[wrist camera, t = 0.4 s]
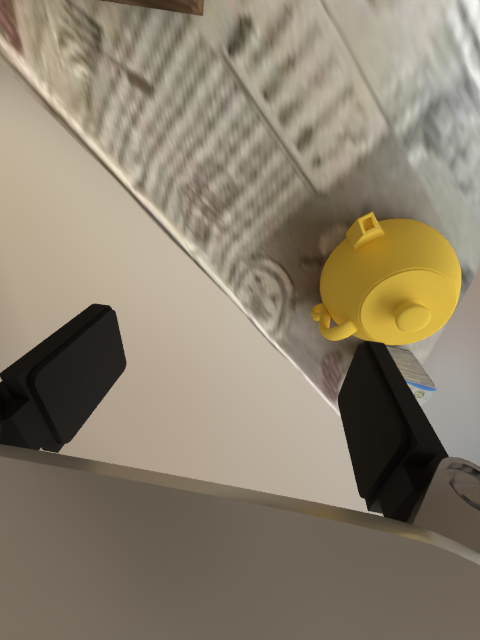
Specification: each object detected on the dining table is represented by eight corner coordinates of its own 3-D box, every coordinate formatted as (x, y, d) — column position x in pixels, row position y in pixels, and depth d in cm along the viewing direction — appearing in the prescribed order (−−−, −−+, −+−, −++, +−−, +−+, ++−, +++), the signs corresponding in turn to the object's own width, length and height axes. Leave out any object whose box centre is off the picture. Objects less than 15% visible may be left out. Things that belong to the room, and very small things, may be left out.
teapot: (454, 293, 38) (523, 346, 27) (330, 342, 45) (346, 399, 34) (413, 160, 30) (485, 159, 20) (273, 244, 38) (269, 277, 27)
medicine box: (355, 358, 46) (369, 395, 39) (367, 338, 44) (385, 374, 36) (398, 369, 46) (420, 409, 39) (412, 351, 44) (439, 389, 36)
